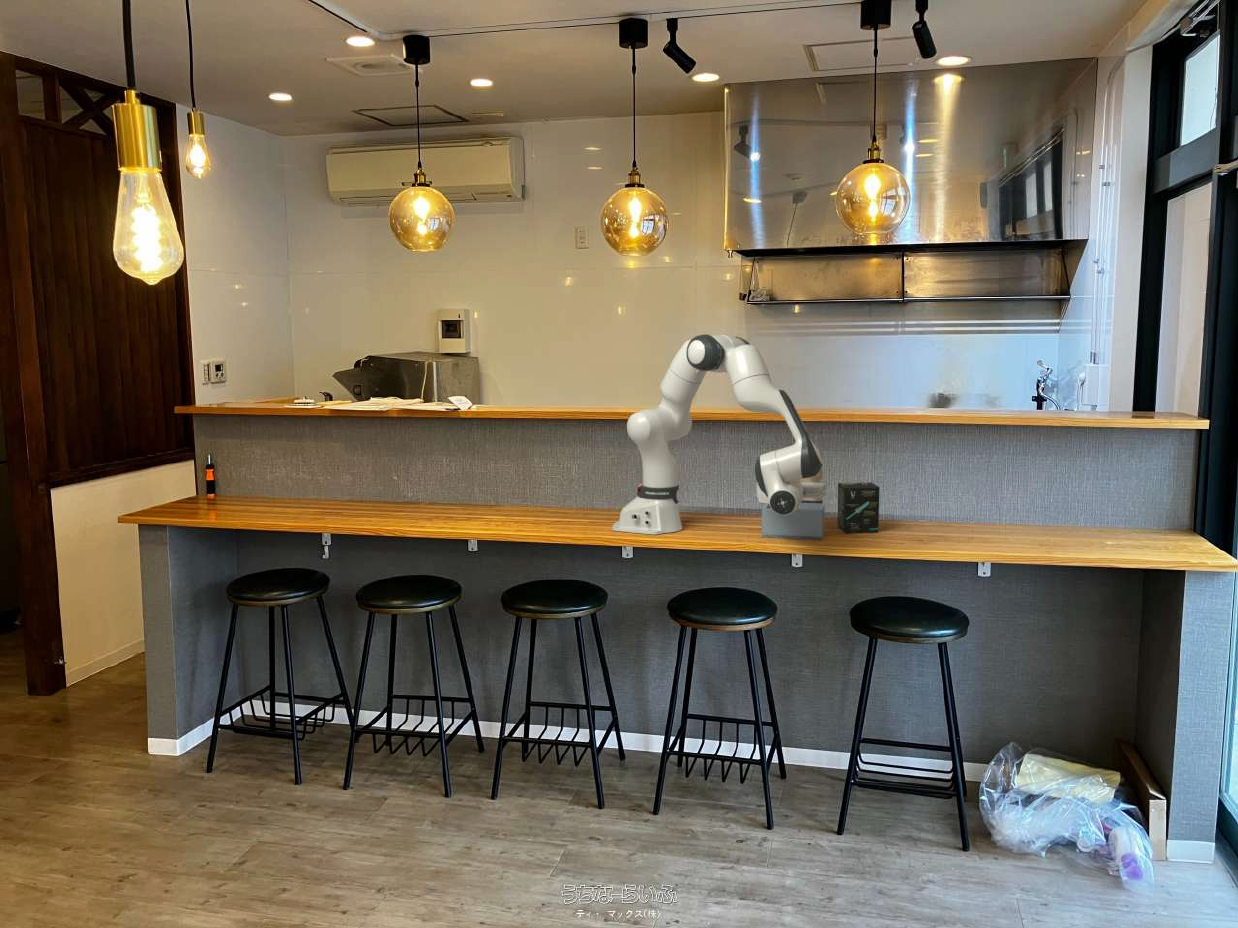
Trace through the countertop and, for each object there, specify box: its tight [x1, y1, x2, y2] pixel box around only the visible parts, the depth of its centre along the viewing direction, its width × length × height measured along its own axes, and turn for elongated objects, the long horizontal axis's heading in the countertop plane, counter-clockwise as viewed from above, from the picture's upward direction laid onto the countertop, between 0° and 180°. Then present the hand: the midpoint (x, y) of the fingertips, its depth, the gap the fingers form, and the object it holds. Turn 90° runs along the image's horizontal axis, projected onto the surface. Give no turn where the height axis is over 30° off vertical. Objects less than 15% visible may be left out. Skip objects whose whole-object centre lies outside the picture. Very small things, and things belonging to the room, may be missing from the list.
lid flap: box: [770, 448, 824, 504], centre depth 300 cm, size 17×1×17 cm, turn 74°
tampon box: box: [837, 481, 880, 534], centre depth 300 cm, size 11×9×15 cm
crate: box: [761, 502, 826, 541], centre depth 295 cm, size 18×12×9 cm, turn 74°
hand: (792, 485), depth 288 cm, fingers closed
